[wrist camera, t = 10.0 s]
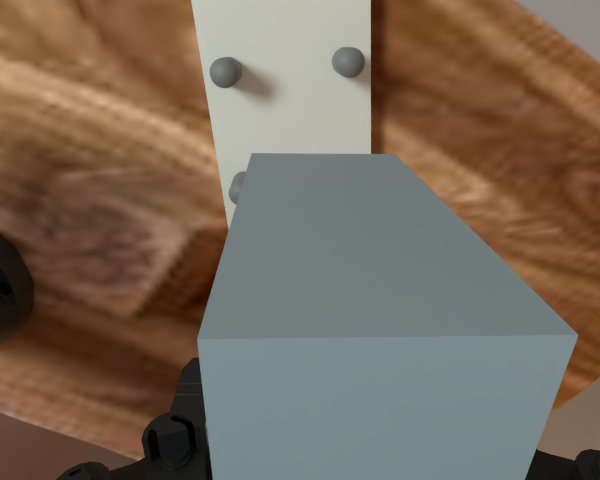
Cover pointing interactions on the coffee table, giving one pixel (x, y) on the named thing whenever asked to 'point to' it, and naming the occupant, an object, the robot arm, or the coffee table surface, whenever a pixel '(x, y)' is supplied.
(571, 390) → the coffee table surface
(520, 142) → the coffee table surface
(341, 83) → the pegboard
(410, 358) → the slate block
